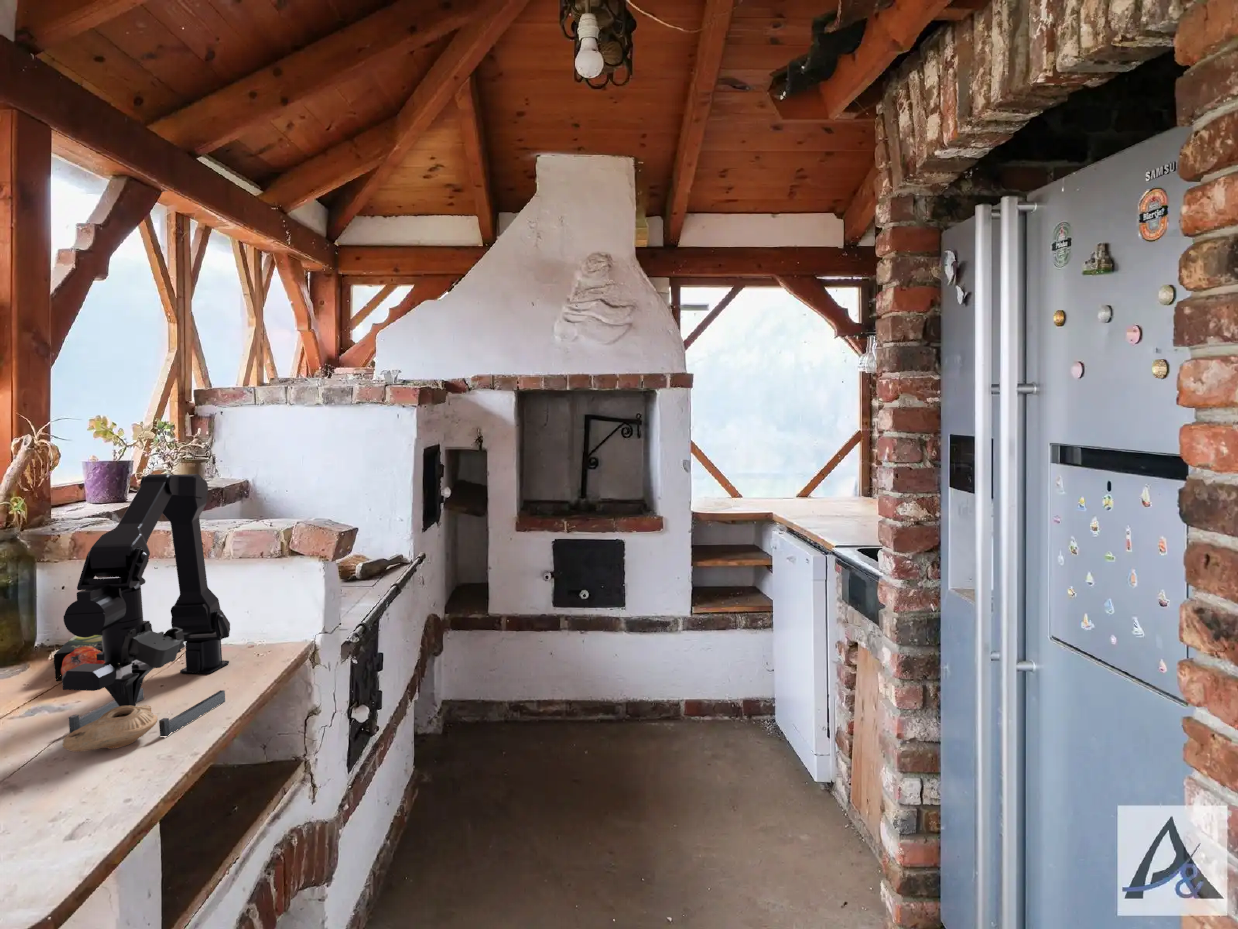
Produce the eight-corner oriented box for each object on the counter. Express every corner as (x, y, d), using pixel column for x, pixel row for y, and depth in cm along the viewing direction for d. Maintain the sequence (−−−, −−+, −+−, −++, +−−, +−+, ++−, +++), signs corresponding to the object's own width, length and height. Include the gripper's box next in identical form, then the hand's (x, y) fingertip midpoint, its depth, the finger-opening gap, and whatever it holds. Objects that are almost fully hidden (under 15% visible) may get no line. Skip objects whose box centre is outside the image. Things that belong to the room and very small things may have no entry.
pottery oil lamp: (48, 755, 114) (58, 706, 117) (135, 754, 123) (142, 709, 126) (72, 748, 109) (82, 697, 112) (161, 747, 118) (168, 700, 121)
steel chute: (139, 698, 137) (138, 683, 137) (225, 701, 135) (224, 686, 135) (69, 734, 123) (68, 717, 122) (165, 738, 120) (164, 720, 120)
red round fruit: (74, 690, 149) (38, 674, 140) (93, 654, 153) (60, 636, 144) (108, 695, 148) (75, 679, 139) (127, 659, 152) (95, 641, 143)
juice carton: (80, 652, 165) (78, 625, 165) (133, 647, 169) (131, 620, 169) (52, 684, 147) (50, 653, 146) (112, 677, 151) (110, 646, 150)
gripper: (123, 637, 112) (130, 740, 114) (206, 604, 131) (212, 692, 132) (55, 636, 114) (63, 737, 115) (147, 603, 132) (153, 690, 134)
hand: (128, 713), depth 124 cm, fingers closed
